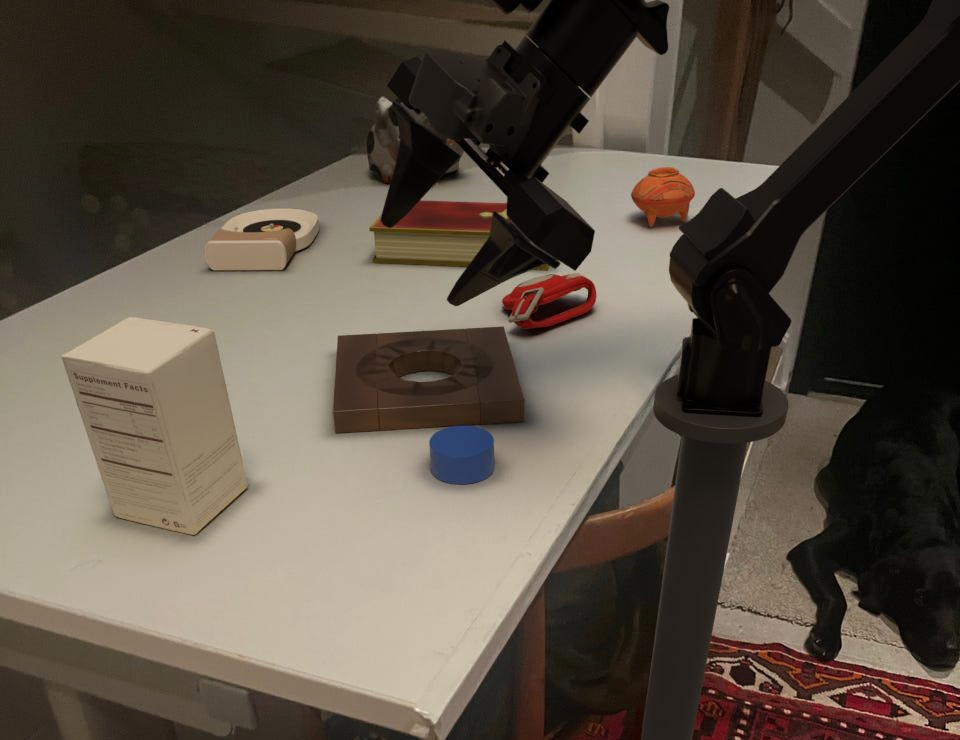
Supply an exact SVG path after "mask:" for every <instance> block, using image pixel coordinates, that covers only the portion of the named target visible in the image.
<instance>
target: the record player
mask: <svg viewBox="0 0 960 740" xmlns="http://www.w3.org/2000/svg"><path fill="white" fill-rule="evenodd" d="M319 222H320V221H319V216H318V215H317V214H316V213H314V212H312V211H309V210H306V209H305V210H304V209H298V208H266V209H259V210H252V211H249V212H245V213H240V214H238V215H235V216H233V217H231V218H230V219H229V220H228V221H226V222H225V223H224V225H223V226H222V227H221V228H220V229H218V230H217V232H216V233H215V234H214V235H213V236H212V237H211V238H210V240H209V241H208V242H207V243H206V244H205V246H204V256H205V260H206V263H207V266H208V267H209V268H210V269H211V270H212V271H283V270H284V269H285V268H286V266H287V264H288V263H289V261H290V259H291V258H292V256H293V255H294V254H295V252H298V251H300V250H303V249H305V248H307V247H309V246H310V245H311V244H312V243H313V242H314V240H315V238H316V237H317V235H318V233H319V231H320V223H319Z"/></svg>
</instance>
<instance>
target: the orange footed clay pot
mask: <svg viewBox="0 0 960 740" xmlns="http://www.w3.org/2000/svg"><path fill="white" fill-rule="evenodd" d="M695 195H696V191H695V188H694V186H693V184H692V183H691V182H690V180H689V179H688V178H687V177H686V176H685V175H683V174H682V173H680V170H679V169H678V168H676V167H671V166H665V167H657V168H654V169H651V170H649V171H648V172H647V175H646V176H644V177H643V178H641V179H640V180H639V181H638V182H637V183H636V184H635V185H634V187H633V188H632V190H631V193H630V197H631V200H632V203H634V204H635V206H636V207H637V208H638V209H639V210H640V211H641V212H643V214H644V215H645V216H646V218H647V222H648V226H649V227H650V228H654V224H655V222H656V219H657V218H668V217H672V216H675V215H676V214H679V215H680V221H681V222H685V221H686V220H687V217H688V215H689V211H690V210H689V209H690V204H691V201H692V200H693V199H694V198H695Z"/></svg>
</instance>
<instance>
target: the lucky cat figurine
mask: <svg viewBox="0 0 960 740" xmlns="http://www.w3.org/2000/svg"><path fill="white" fill-rule="evenodd" d="M394 101H395V102H397V103H398V104H401V100H400V99H399V98H398V97H396V99H394ZM374 117H375V119H374V120H375V122H374V124H373V125H372V126H371V128H370V130H369V131H368V133H367V136H366V142H365V143H366V147H365V148H366V156H367V161H368V169H369V171H371V172H372V173H376V174H377V176H378V177H379V179H380V180H381V182H383V183H384V184H390V183H391V179H392V175H393V172H394V168H395V164H396V160H397V155H398V150H399V145H400V133H399V128H398V122H397V117H396V114H395V112H394V111H393V110H392V101H390V100H389V99H388V98H387V97H385V96H383V95H382V96H381V97H379V98H378V100H376V102H375V111H374ZM448 143H449V144H450V145H451V146H452V147H453V148H454V149H455V150H456V151H457V152H458V153H459V154H460V155H461V156H460V157H459V159H458V160H457V161H456V162H455V163H454V164H453V165H452V166H451V167H450V168H449V169H448V171H447V172H446V173H445V174H450V173H457V172H458V171H459V169H460V160H461V158H462V157H463V155H464V153H465V151H464V150H463V149H462V148H461V147H460V146H459V145H458V144H457V143H456V142H455V141H453V140H450V139H449V140H448Z"/></svg>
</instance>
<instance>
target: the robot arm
mask: <svg viewBox="0 0 960 740" xmlns="http://www.w3.org/2000/svg"><path fill="white" fill-rule="evenodd" d="M489 1H490V2H491V3H492V4H493V5H494V6H495V7H496V8H497V9H498V10H499V11H500V12H501V13H502V14H503V15H504V16H508V15H510V14H511V13H512V12H514V11H515V10H516V9H517V8H518V7H520V5H521V7H522V9H523V10H524V11H526V13H529V14H530V13H532V12H534V11H535V10H536V9H537V8H538V7H539V6H540V5H541V4H542V3H543V1H544V0H489ZM669 11H670V5H669V3H667V2H665V1H662V0H651V1H646V0H548V1H547V3H546V4H545V5H544V7H543V8H542V10H541V11H540V13H539V14H538V15H537V17H536V19H535V20H534V21H533V23H532V24H531V25H530V26H529V28H528V30H527V32H525V35H523V37H522V39H521V40H520V41H519V43H518V44H517V46H516V48H514V47H513V46H512V45H511V44H510V43H508V42H507V40H503V42H502V44H498V45H497V46H495V48H494V50H493V51H492V52H491V54H490V55H489V56H488V58H486V59H485V60H483V59H480V58H477V57H475V56H472V55H469V54H465V53H462V52H456V51H452V50H445V49H441V48H436V47H426V48H425V50H424V52H423V55H422V58H421V57H419V56H418V55H417V56H414V57H412V58H408V59H406V60H403V61H401V62H400V64H399V65H398V67H397V68H396V71H395V72H394V74H393V75H392V76H391V79H390V80H389V81H388V83H387V84H386V86H387V88H388V89H389V90H390V91H391V92H392V93H393V94H394V95H395V96H396V98H399V99H400V100H401V104H398V103H397V102H395V99H394V100H392V101H391V102H392V110H393V111H394V112H395V114H396V117H397V122H398V128H399V133H400V145H399V150H398V155H397V160H396V164H395V168H394V172H393V175H392V179H391V183H389V186H388V189H387V194H386V196H385V200H384V204H383V208H382V212H381V214H382V215H381V214H380V215H381V219H380V221H381V223H382V224H383V225H384V226H386V227H388V228H392V227H393V226H395V225H396V224H397V223H398V222H399V221H400V220H401V219H402V218H404V217H405V216H406V215H407V214H408V213H409V212H410V211H411V209H412V208H413V207H414V206H415V205H416V204H417V203H418V202H419V201H420V200H422V199H423V198H424V197H425V195H426V194H427V193H428V192H429V191H430V190H431V189H432V188H433V187H434V186H435V185H436V183H438V181H439V180H440V179H441V178H442V177H443V176H444V175H445V174H447V173H446V172H447V171H448V169H449V168H450V167H451V166H452V165H453V164H454V163H455V162H456V161H457V160H458V159H459V157H460V156H461V155H460V154H459V153H458V152H457V151H456V150H455V149H454V148H453V147H452V146H451V145H450V144H449V143H448V140H449V139H450V140H453V141H455V142H456V143H457V144H458V145H459V146H460V147H461V148H462V149H463V150H464V153H465V154H466V155H467V156H468V157H469V158H470V159H471V160H472V162H473V163H474V164H475V165H477V167H478V168H479V169H480V170H481V171H482V172H483V173H484V174H485V175H486V176H487V177H488V178H489V179H490V180H491V181H492V183H493V184H494V185H495V186H496V187H497V188H498V189H499V190H500V191H501V192H502V193H503V194H504V196H506V203H507V211H506V215H507V216H508V217H509V218H510V219H511V220H512V221H509V220H508V219H506V218H504V217H503V216H501V215H500V214H498V213H497V212H495V211H494V212H493V214H492V221H491V228H490V235H489V238H488V239H487V241H486V242H485V244H484V245H483V246H482V248H481V249H480V250H479V252H478V253H477V254H476V256H475V257H474V259H473V260H472V261H471V263H470V264H469V265H468V267H466V268H465V269H464V271H463V272H462V273H461V275H460V276H459V277H458V279H457V281H456V282H454V283H455V284H454V285H453V287H452V288H451V290H450V292H449V294H448V295H447V297H446V301H447V303H449V305H452V306H453V307H459V306H461V305H463V304H465V303H467V302H468V301H471V300H473V299H475V298H477V297H478V296H480V295H482V294H484V293H486V292H487V291H489V290H492V289H493V288H495V287H497V286H499V285H501V284H502V283H504V282H506V281H509V280H511V279H513V278H516V277H518V276H520V275H523V274H526V273H528V272H530V271H534V270H535V268H538V267H540V266H543V265H545V264H547V265H549V268H552V269H554V270H556V269H558V268H559V267H560V266H561V263H562V264H564V265H565V266H567V267H568V268H569V269H571V270H572V271H575V272H576V271H577V269H578V268H579V267H581V264H582V263H583V262H584V261H585V259H587V257H588V256H589V255H590V254H591V253H592V249H593V244H594V240H595V239H594V238H595V233H596V230H595V229H594V228H593V227H592V226H591V225H590V224H589V223H588V221H586V220H585V219H584V218H583V217H582V216H581V215H580V213H579V212H577V210H575V208H574V207H572V205H570V203H569V202H568V201H567V200H566V199H564V197H562V196H560V195H559V194H557V193H556V192H555V191H553V190H552V189H551V188H550V187H548V186H547V185H546V184H545V183H544V181H546V179H547V178H548V176H549V175H550V172H549V171H548V170H547V169H546V168H545V167H544V166H543V165H542V164H543V163H544V162H545V161H546V159H547V158H548V157H549V155H550V154H551V152H552V151H553V150H554V149H555V147H556V146H557V144H558V143H559V142H560V140H561V139H562V138H563V136H564V135H565V134H566V133H567V131H568V130H569V129H570V127H571V129H573V130H574V131H575V132H576V133H577V134H581V132H582V131H583V130H584V129H585V127H586V126H587V124H588V123H589V121H590V120H589V119H587V117H586V116H585V115H584V114H582V111H583V110H584V109H585V107H586V106H587V105H588V103H589V102H590V100H591V98H592V97H593V96H594V94H595V93H596V92H597V91H598V89H599V88H600V86H601V85H602V84H603V83H604V82H605V80H606V78H607V77H608V76H609V75H610V73H611V72H612V71H613V69H614V67H615V66H616V65H617V64H618V62H619V61H620V59H621V58H623V56H624V54H625V53H626V51H627V50H628V49H629V48H630V46H632V43H633V42H634V41H635V40H636V38H637V39H638V41H640V43H641V44H642V45H643V46H644V47H646V48H647V49H649V50H651V51H653V52H654V53H656V54H658V55H659V56H663V55H666V54H667V53H668V50H669V38H668V16H669ZM959 84H960V0H932V1H931V3H930V5H929V7H928V10H927V12H926V14H925V16H924V17H923V19H922V20H921V21H920V22H919V23H918V25H917V26H916V27H915V28H914V29H913V30H912V31H911V32H910V33H909V34H908V35H907V36H906V37H905V38H904V39H903V40H902V41H901V42H900V43H899V44H898V45H897V46H896V47H895V48H894V49H893V50H892V51H891V52H890V53H889V54H888V55H887V56H886V57H885V58H884V59H883V60H882V62H880V64H879V65H877V67H875V68H874V69H873V71H872V72H870V74H869V75H867V77H866V78H864V80H863V81H862V82H861V83H860V84H859V85H857V87H856V88H855V89H854V90H852V92H851V93H850V94H849V95H848V96H847V97H846V98H845V99H843V101H842V102H841V103H840V104H839V105H837V107H836V108H835V109H834V110H833V111H832V112H831V113H830V114H829V115H828V116H827V117H826V118H825V119H824V120H823V121H822V122H821V123H820V125H818V127H816V129H814V130H813V132H811V133H810V135H809V136H808V137H806V139H805V140H804V141H803V142H802V143H800V145H799V146H797V148H796V149H795V150H794V151H792V153H791V154H790V155H789V156H787V158H786V159H785V160H784V161H783V162H782V163H780V165H779V166H778V167H777V168H776V169H775V170H774V171H773V172H772V173H771V174H770V175H769V176H768V177H767V178H766V179H765V180H764V181H763V182H762V183H761V184H760V185H758V186H756V188H754V189H752V190H749V191H748V192H746V193H744V194H742V195H740V196H738V197H735V196H733V195H732V194H730V193H729V192H728V191H727V190H726V189H724V188H723V187H719V188H718V189H717V190H716V191H715V192H714V193H712V194H711V196H710V197H709V198H708V200H707V201H706V202H705V204H704V205H703V207H702V208H701V209H700V211H699V212H698V213H697V214H695V215H694V216H693V217H692V218H691V219H689V220H688V221H686V222H684V223H682V224H680V225H679V226H678V230H679V231H680V232H681V233H682V234H681V235H680V236H679V238H678V239H677V240H676V242H675V243H674V245H673V246H672V248H671V250H670V253H669V264H668V274H669V278H670V281H671V284H672V285H673V286H674V288H675V290H676V291H677V292H678V293H679V294H680V296H681V297H682V298H683V299H684V300H685V302H686V303H687V307H688V310H689V311H690V312H691V313H693V314H694V315H695V317H694V318H692V320H691V329H690V335H689V336H685V337H683V339H682V341H681V350H680V355H679V356H680V357H679V366H678V373H677V375H678V380H677V395H678V396H679V397H682V412H684V413H691V414H708V415H725V416H742V417H761V416H762V415H763V404H762V394H763V389H764V384H765V381H766V378H767V372H768V367H769V362H770V357H771V353H772V352H771V351H772V348H773V347H774V348H775V347H779V346H780V345H781V343H782V341H783V339H784V338H785V335H786V334H787V332H788V330H789V329H790V326H791V325H792V319H791V318H790V317H789V315H788V314H787V313H786V312H785V310H784V309H783V308H782V307H781V306H780V305H779V304H778V303H777V301H776V300H775V299H774V297H773V296H772V295H771V294H770V293H771V292H772V291H773V289H774V288H775V286H776V285H777V284H778V283H779V281H780V280H781V279H782V278H783V276H784V274H785V272H786V270H787V268H788V266H789V263H790V261H791V259H792V257H793V255H794V253H795V250H796V248H797V246H798V244H799V242H800V239H801V237H802V236H803V235H804V233H805V232H806V231H807V230H808V229H810V228H811V226H813V224H814V223H815V222H816V221H817V220H819V218H820V217H822V215H824V214H825V213H826V212H827V211H828V210H829V209H830V208H831V207H832V206H833V205H834V204H835V203H836V202H837V201H839V199H840V198H841V197H842V196H843V195H844V194H845V193H846V192H847V191H849V189H851V187H852V186H854V185H855V184H856V183H857V182H858V181H859V180H860V179H861V178H862V177H863V176H864V175H865V174H866V173H867V172H868V171H869V170H870V169H871V168H872V167H873V166H874V165H876V163H877V162H878V161H879V160H880V159H882V158H883V157H884V155H886V153H888V152H889V151H890V150H891V149H892V148H893V147H894V146H895V145H896V144H897V143H898V142H899V141H901V140H902V138H903V137H904V136H905V135H907V134H908V132H910V131H911V130H912V129H913V128H914V127H915V126H916V125H917V124H918V123H919V122H920V121H921V120H922V119H923V118H924V117H925V116H926V115H927V114H928V113H929V112H930V111H931V110H932V109H933V108H934V107H935V106H937V104H939V103H940V101H942V99H944V98H945V97H946V96H947V95H948V94H949V93H950V92H951V91H952V90H953V89H954V88H955V87H956V86H957V85H959ZM481 144H483V145H489V147H488V149H487V150H486V151H485V150H484V149H483V147H481V146H480V145H481Z"/></svg>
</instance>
